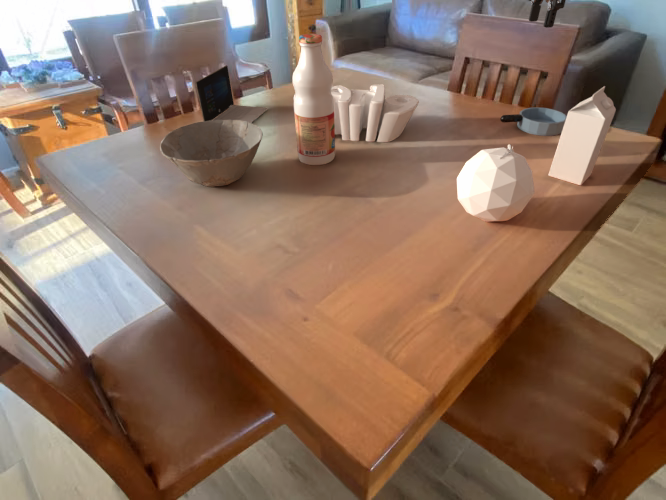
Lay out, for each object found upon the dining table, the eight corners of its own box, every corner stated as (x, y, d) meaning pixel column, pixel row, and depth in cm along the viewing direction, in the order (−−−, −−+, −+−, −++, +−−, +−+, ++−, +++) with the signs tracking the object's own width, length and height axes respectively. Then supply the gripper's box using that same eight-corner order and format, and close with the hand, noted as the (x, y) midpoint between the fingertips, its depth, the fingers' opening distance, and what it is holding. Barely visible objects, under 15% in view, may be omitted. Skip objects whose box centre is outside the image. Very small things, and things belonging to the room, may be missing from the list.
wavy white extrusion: (285, 136, 118) (281, 98, 112) (302, 115, 131) (300, 79, 125) (412, 146, 111) (416, 105, 105) (417, 122, 124) (421, 85, 118)
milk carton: (547, 176, 97) (574, 91, 85) (559, 165, 101) (586, 82, 89) (580, 186, 93) (613, 98, 81) (591, 174, 97) (624, 89, 85)
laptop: (243, 131, 122) (235, 84, 114) (204, 127, 125) (194, 82, 117) (268, 110, 135) (263, 67, 127) (233, 107, 139) (226, 64, 131)
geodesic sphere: (467, 159, 91) (468, 121, 78) (538, 171, 86) (552, 133, 73) (448, 222, 89) (445, 194, 76) (520, 239, 84) (531, 212, 70)
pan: (506, 138, 114) (510, 123, 112) (490, 121, 124) (493, 107, 121) (571, 134, 115) (576, 120, 112) (550, 118, 124) (554, 104, 122)
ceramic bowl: (257, 150, 112) (252, 113, 105) (276, 192, 94) (271, 150, 88) (169, 164, 106) (159, 126, 100) (172, 211, 89) (159, 167, 83)
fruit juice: (291, 155, 109) (280, 35, 92) (322, 146, 113) (318, 29, 95) (309, 169, 102) (301, 42, 85) (342, 159, 106) (341, 36, 89)
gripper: (590, -52, 95) (568, 28, 105) (559, -55, 107) (541, 18, 117) (557, -51, 95) (538, 30, 105) (529, -53, 106) (514, 20, 116)
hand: (540, 24), depth 111 cm, fingers open, 8 cm apart
